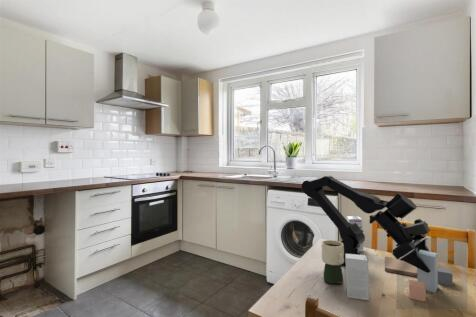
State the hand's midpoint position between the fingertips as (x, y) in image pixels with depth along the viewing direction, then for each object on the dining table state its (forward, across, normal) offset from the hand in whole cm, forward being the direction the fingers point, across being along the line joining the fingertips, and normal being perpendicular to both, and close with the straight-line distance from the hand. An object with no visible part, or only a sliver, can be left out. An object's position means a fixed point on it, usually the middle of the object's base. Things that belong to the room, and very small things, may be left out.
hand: (432, 267), depth 81 cm
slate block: (+4, 0, +6) cm, 7 cm away
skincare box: (-6, -21, +16) cm, 27 cm away
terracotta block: (+3, -9, +7) cm, 11 cm away
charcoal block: (+6, +8, +4) cm, 11 cm away
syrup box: (-17, +18, +27) cm, 37 cm away
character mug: (-12, -17, +22) cm, 31 cm away
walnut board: (-3, +11, +12) cm, 17 cm away
